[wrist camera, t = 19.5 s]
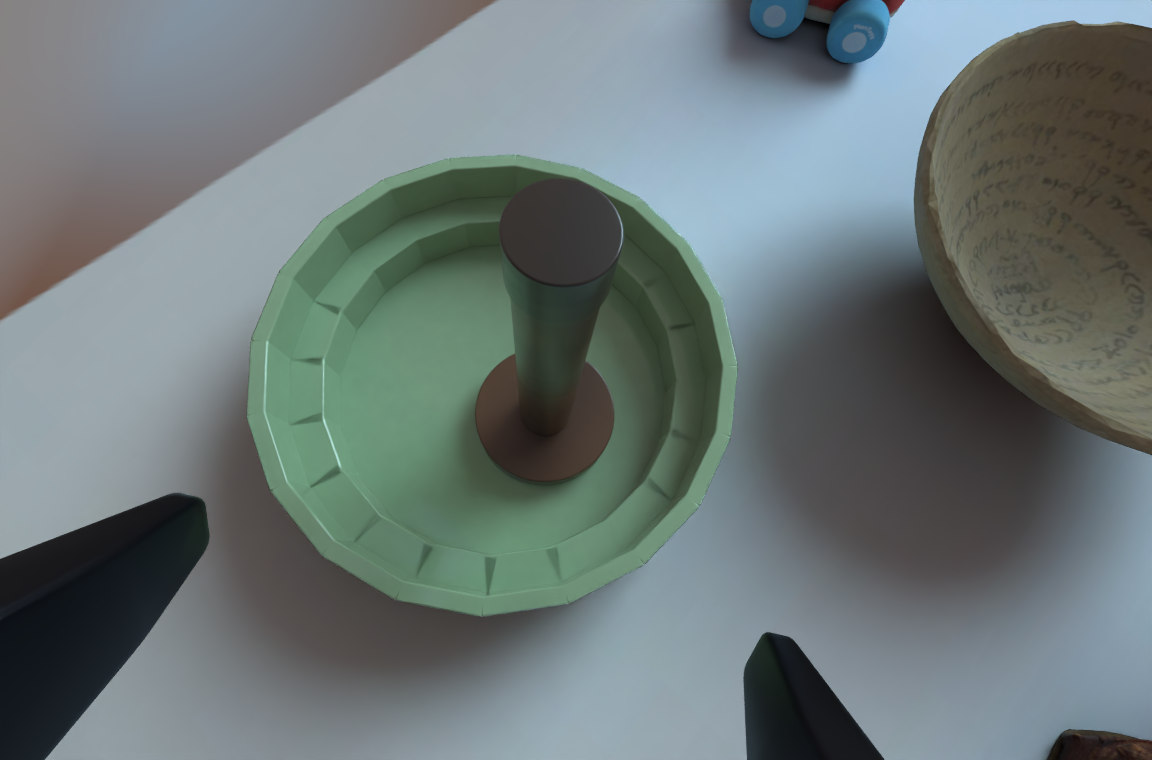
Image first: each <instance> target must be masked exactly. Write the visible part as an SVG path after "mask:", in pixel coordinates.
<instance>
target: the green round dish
mask: <svg viewBox="0 0 1152 760" xmlns="http://www.w3.org/2000/svg"><path fill="white" fill-rule="evenodd" d="M552 178H565V179H572V180H577V181H580V182H583V183H586V184H588V185H590V186H592V187H594V188H596V189H597V190H599V191H600V192H601V193H603V194H604V195H605V196H606V197H607V198H608V199H609V200H610V201H611V202H612V203H613V205H614V206H615V208H616V209H617V211H618V213H619V215H620V218H621V221H622V224H623V230H624V242H623V247H622V251H621V254H620V257H619V261H618V264H617V268H616V271H615V274H614V278H613V281H612V285H611V288H610V291H609V294H608V296H607V298H606V299H605V301H604V302H603V304H602V305H601V306H600V309H599V313H598V317H597V320H596V324H595V328H594V331H593V335H592V339H591V342H590V346H589V349H588V353H587V357H586V360H587V361H588V362H589V363H590V364H592V365H593V366H594V367H595V368H596V369H597V370H598V371H599V373H600V374H601V375H602V377H603V378H604V380H605V382H606V383H607V385H608V387H609V390H610V392H611V395H612V399H613V403H614V410H615V416H614V427H613V431H612V435H611V438H610V440H609V442H608V445H607V446H606V448H605V450H604V451H603V453H602V454H601V456H600V457H599V458H598V460H597V461H596V462H595V463H594V465H592V466H591V467H590V468H589V469H588V470H587V471H586V472H584V473H583V474H582V475H580V476H578V477H576V478H575V479H573V480H570V481H567V482H565V483H561V484H556V485H548V486H544V485H533V484H528V483H524V482H521V481H519V480H516V479H514V478H512V477H510V476H509V475H507V474H506V473H504V472H503V471H502V470H501V469H499V468H498V467H497V466H496V465H495V464H494V463H493V461H492V460H491V459H490V457H489V456H488V455H487V453H486V451H485V449H484V447H483V445H482V443H481V441H480V438H479V435H478V432H477V428H476V423H475V407H476V401H477V397H478V394H479V391H480V388H481V386H482V384H483V382H484V380H485V379H486V377H487V376H488V375H489V373H490V372H491V371H492V370H493V369H494V368H495V367H496V366H497V365H498V364H499V363H500V362H502V361H503V360H504V359H506V358H507V357H509V356H511V355H513V354H515V346H514V334H513V323H512V312H511V301H510V296H509V294H508V293H507V290H506V287H505V284H504V279H503V270H502V260H501V251H500V242H499V222H500V218H501V215H502V213H503V210H504V208H505V207H506V205H507V203H508V202H509V201H510V200H511V198H512V197H513V196H514V195H515V194H516V193H517V192H519V191H520V190H522V189H523V188H524V187H526V186H528V185H530V184H532V183H535V182H538V181H541V180H545V179H552ZM737 369H738V368H737V360H736V356H735V352H734V347H733V343H732V339H731V334H730V330H729V325H728V321H727V317H726V312H725V308H724V304H723V300H722V298H721V296H720V294H719V293H718V291H717V289H716V288H715V286H714V284H713V282H712V281H711V279H710V277H709V276H708V274H707V272H706V271H705V269H704V267H703V266H702V264H701V262H700V261H699V259H698V257H697V255H696V254H695V252H694V250H693V249H692V247H691V245H690V244H689V243H688V242H687V241H686V240H685V239H684V238H683V237H682V236H681V235H680V234H679V233H678V232H677V231H675V230H674V229H673V228H672V227H671V226H670V225H669V224H668V223H667V222H666V221H665V220H664V219H662V218H661V217H660V216H659V215H658V214H657V213H656V212H655V211H654V210H653V209H652V208H651V207H649V206H648V205H647V204H646V203H645V202H644V201H643V200H642V199H640V198H639V197H638V196H636V195H634V194H632V193H630V192H628V191H626V190H624V189H622V188H620V187H618V186H616V185H614V184H612V183H610V182H608V181H606V180H604V179H602V178H600V177H598V176H596V175H594V174H592V173H590V172H589V171H587V170H585V169H583V168H582V169H581V168H579V167H574V166H569V165H564V164H559V163H555V162H550V161H545V160H540V159H535V158H531V157H526V156H521V155H498V156H479V157H460V158H449V159H444V160H441V161H438V162H435V163H432V164H429V165H426V166H423V167H420V168H417V169H413V170H410V171H407V172H404V173H401V174H398V175H395V176H392V177H389V178H386V179H384V180H381V181H380V182H378V183H377V184H375V185H374V186H372V187H371V188H369V189H368V190H366V191H365V192H363V193H362V194H360V195H359V196H357V197H356V198H354V199H353V200H351V201H350V202H348V203H346V204H345V205H343V206H342V207H340V208H339V209H337V210H336V211H334V212H333V213H331V214H330V215H328V216H327V217H326V218H324V219H323V220H322V221H321V222H320V224H319V225H318V226H317V227H316V228H315V229H314V231H313V232H312V233H311V234H310V235H309V237H308V238H307V239H306V240H305V241H304V242H303V244H302V245H301V246H300V247H299V248H298V250H297V251H296V252H295V253H294V254H293V256H292V257H291V258H290V259H289V260H288V261H287V263H286V264H285V265H284V266H283V267H282V269H281V270H280V271H279V274H278V275H277V277H276V280H275V282H274V285H273V287H272V290H271V292H270V294H269V297H268V299H267V302H266V304H265V307H264V309H263V311H262V314H261V316H260V319H259V321H258V324H257V326H256V329H255V331H254V333H253V336H252V338H251V342H250V361H249V381H248V400H247V420H248V423H249V426H250V429H251V432H252V436H253V439H254V442H255V445H256V448H257V452H258V455H259V458H260V461H261V464H262V468H263V471H264V474H265V477H266V480H267V483H268V487H269V490H270V491H271V493H272V494H273V496H274V497H275V498H276V499H277V501H278V502H279V503H280V504H281V506H282V507H283V508H284V509H285V511H286V512H287V513H288V515H289V516H290V517H291V518H292V520H293V521H294V522H295V523H296V525H297V526H298V527H299V528H300V530H301V531H302V532H303V533H304V535H305V536H306V537H307V539H308V540H309V541H310V542H311V544H312V545H313V546H314V547H315V549H316V550H317V551H318V552H319V554H320V555H322V556H323V557H324V558H325V559H327V560H329V561H330V562H332V563H334V564H335V565H337V566H339V567H340V568H342V569H344V570H345V571H347V572H349V573H350V574H352V575H354V576H355V577H357V578H359V579H360V580H362V581H363V582H365V583H367V584H368V585H370V586H372V587H373V588H375V589H377V590H378V591H380V592H382V593H383V594H385V595H387V596H388V597H390V598H392V599H396V600H397V601H401V602H406V603H411V604H416V605H421V606H427V607H432V608H437V609H442V610H447V611H452V612H457V613H462V614H468V615H473V616H478V617H480V616H483V617H486V616H493V615H500V614H507V613H513V612H520V611H527V610H534V609H540V608H547V607H554V606H561V605H566V604H568V603H572V602H574V601H576V600H578V599H580V598H582V597H584V596H586V595H588V594H589V593H591V592H593V591H595V590H597V589H599V588H601V587H603V586H605V585H607V584H609V583H611V582H613V581H614V580H616V579H618V578H620V577H622V576H624V575H626V574H628V573H630V572H632V571H634V570H636V569H638V568H639V567H641V566H643V564H646V563H647V561H648V560H649V559H650V558H651V557H652V556H653V555H654V554H655V553H656V552H657V551H658V550H659V549H660V548H661V547H662V546H663V545H664V544H665V542H666V541H667V540H668V539H669V538H670V537H671V536H672V535H673V534H674V533H675V532H676V531H677V530H678V529H679V528H680V527H681V526H682V525H683V524H684V522H685V521H686V520H687V519H688V518H689V517H690V516H691V515H692V514H693V513H694V512H695V511H696V510H697V509H698V507H699V506H700V505H701V503H702V500H703V498H704V496H705V494H706V492H707V489H708V487H709V485H710V483H711V481H712V478H713V476H714V474H715V472H716V470H717V467H718V465H719V463H720V461H721V459H722V456H723V454H724V452H725V450H726V448H727V445H728V443H729V441H730V437H731V431H732V421H733V411H734V400H735V390H736V380H737Z"/></svg>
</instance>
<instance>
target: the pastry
mask: <svg viewBox="0 0 1152 760" xmlns="http://www.w3.org/2000/svg"><path fill="white" fill-rule="evenodd" d="M1049 760H1152V741H1149V740H1143V739H1138V738H1134V737H1130V736H1126V735H1122V734H1117V733H1111V732H1106V731H1092V730H1071V729H1069V730H1066V731H1064V733H1063V734H1062V736H1061V737H1060V739H1059V740H1058V741H1057V743H1056V745H1055V747H1054V749H1053V751H1052V754H1051V756H1050V759H1049Z"/></svg>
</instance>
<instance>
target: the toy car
mask: <svg viewBox="0 0 1152 760" xmlns="http://www.w3.org/2000/svg"><path fill="white" fill-rule="evenodd" d="M903 2H904V0H752V3H751V7H750V20H751V23H752V25H753V27H754V29H755V30H756V31H757V32H758V33H760V34H761V35H763V36H766V37H769V38H780V37H784V36H786V35H788V34H790V33H791V32H793V31H794V30H795V29H796V28H797V27H798V26H799V25H800V24H801V22H802V20H803V18H804V17H805V18H808V19H811V20H815V21H819V22H824V23H828V24H830V26H829V30H828V34H827V49H828V52H829V53H830V55H831V56H832V57H833V58H835V59H836V60H838V61H840V62H843V63H858V62H862V61H864V60H866V59H868V58H870V57H872V56H873V55H874V54H875V53H876V52H877V51H878V50H879V49H880V48H881V46H882V45H883V43H884V41H885V38H886V35H887V30H888V25H889V20H890V18H891V17H892V16H893V15H894V14H895V13H896V12H897V10H898V9H899V7H900V6H901V5H902V3H903Z"/></svg>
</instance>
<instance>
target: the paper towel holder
mask: <svg viewBox="0 0 1152 760" xmlns="http://www.w3.org/2000/svg"><path fill="white" fill-rule="evenodd" d="M499 242H500V251H501V260H502V270H503V279H504V284H505V287H506V290H507V293H508V294H509V296H510V301H511V312H512V323H513V334H514V346H515V354H513V355H511V356H509V357H507V358H506V359H504V360H503V361H502V362H500V363H499V364H498V365H497V366H496V367H495V368H494V369H493V370H492V371H491V372H490V373H489V375H488V376H487V377H486V379H485V380H484V382H483V384H482V386H481V388H480V391H479V394H478V397H477V401H476V407H475V423H476V428H477V432H478V435H479V438H480V441H481V443H482V445H483V447H484V449H485V451H486V453H487V455H488V456H489V457H490V459H491V460H492V461H493V463H494V464H495V465H496V466H497V467H498V468H499V469H501V470H502V471H503V472H504V473H506V474H507V475H509V476H510V477H512V478H514V479H516V480H519V481H521V482H524V483H528V484H533V485H544V486H548V485H556V484H561V483H565V482H567V481H570V480H573V479H575V478H576V477H578V476H580V475H582V474H583V473H584V472H586V471H587V470H588V469H589V468H590V467H591V466H592V465H594V463H595V462H596V461H597V460H598V458H599V457H600V456H601V454H602V453H603V451H604V450H605V448H606V446H607V445H608V442H609V440H610V438H611V435H612V431H613V427H614V416H615V410H614V403H613V399H612V395H611V392H610V390H609V387H608V385H607V383H606V382H605V380H604V378H603V377H602V375H601V374H600V373H599V371H598V370H597V369H596V368H595V367H594V366H593V365H592V364H590V363H589V362H588V361H587V360H586V357H587V353H588V349H589V346H590V342H591V339H592V335H593V331H594V328H595V324H596V320H597V317H598V313H599V309H600V306H601V305H602V304H603V302H604V301H605V299H606V298H607V296H608V294H609V291H610V288H611V285H612V281H613V278H614V274H615V271H616V268H617V264H618V261H619V257H620V254H621V251H622V247H623V242H624V230H623V224H622V221H621V218H620V215H619V213H618V211H617V209H616V208H615V206H614V205H613V203H612V202H611V201H610V200H609V199H608V198H607V197H606V196H605V195H604V194H603V193H601V192H600V191H599V190H597V189H596V188H594V187H592V186H590V185H588V184H586V183H583V182H580V181H577V180H572V179H565V178H552V179H545V180H541V181H538V182H535V183H532V184H530V185H528V186H526V187H524V188H523V189H522V190H520V191H519V192H517V193H516V194H515V195H514V196H513V197H512V198H511V200H510V201H509V202H508V203H507V205H506V207H505V208H504V210H503V213H502V215H501V218H500V222H499Z"/></svg>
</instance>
